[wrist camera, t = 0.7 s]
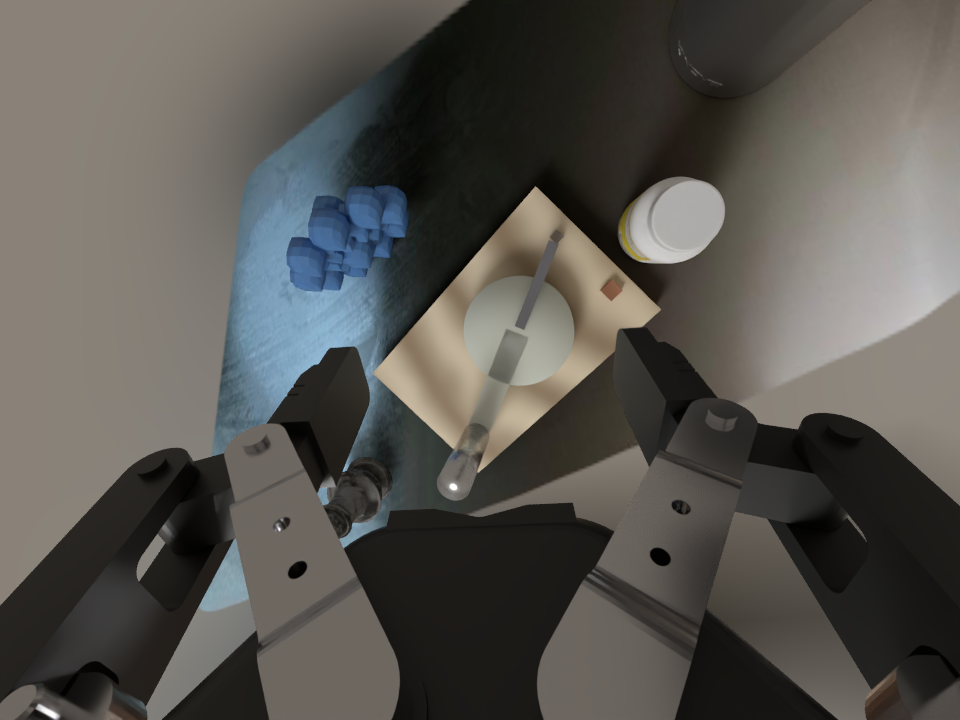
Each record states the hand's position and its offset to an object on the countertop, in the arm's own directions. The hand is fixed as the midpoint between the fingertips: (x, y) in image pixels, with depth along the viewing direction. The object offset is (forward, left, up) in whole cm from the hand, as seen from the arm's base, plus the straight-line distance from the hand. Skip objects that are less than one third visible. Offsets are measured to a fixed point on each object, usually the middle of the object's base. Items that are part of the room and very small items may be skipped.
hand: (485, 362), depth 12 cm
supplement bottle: (-10, +3, -25) cm, 27 cm away
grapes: (+6, -14, -25) cm, 29 cm away
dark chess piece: (+27, +1, -25) cm, 36 cm away
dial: (+4, +2, -22) cm, 23 cm away
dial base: (+5, +1, -24) cm, 25 cm away
